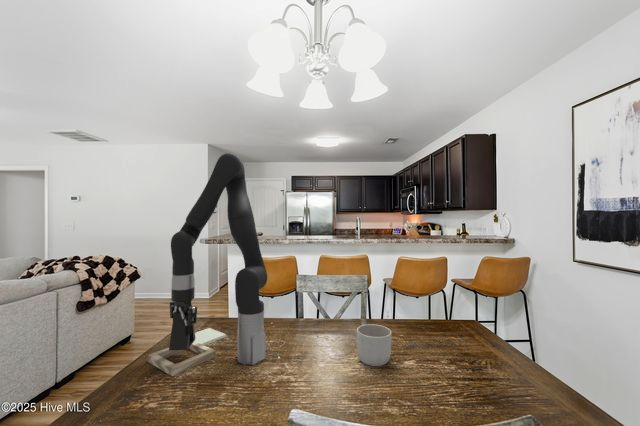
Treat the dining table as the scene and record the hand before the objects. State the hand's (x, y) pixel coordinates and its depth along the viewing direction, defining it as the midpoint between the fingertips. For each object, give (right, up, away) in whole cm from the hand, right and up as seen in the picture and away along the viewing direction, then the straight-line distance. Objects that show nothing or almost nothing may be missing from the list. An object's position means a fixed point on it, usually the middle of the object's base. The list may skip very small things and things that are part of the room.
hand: (182, 332), depth 107 cm
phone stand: (0, -4, 0) cm, 4 cm away
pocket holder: (0, -10, 0) cm, 10 cm away
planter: (+69, -10, +1) cm, 69 cm away
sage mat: (+1, -10, +19) cm, 21 cm away
